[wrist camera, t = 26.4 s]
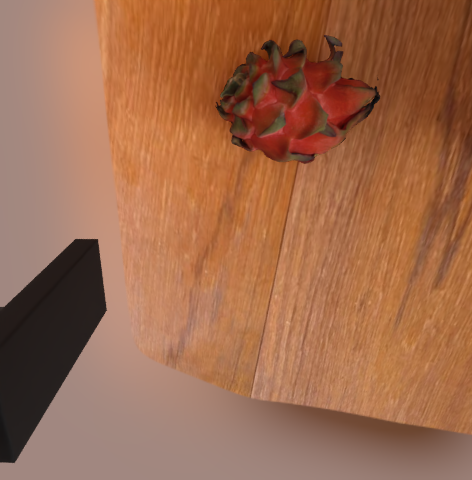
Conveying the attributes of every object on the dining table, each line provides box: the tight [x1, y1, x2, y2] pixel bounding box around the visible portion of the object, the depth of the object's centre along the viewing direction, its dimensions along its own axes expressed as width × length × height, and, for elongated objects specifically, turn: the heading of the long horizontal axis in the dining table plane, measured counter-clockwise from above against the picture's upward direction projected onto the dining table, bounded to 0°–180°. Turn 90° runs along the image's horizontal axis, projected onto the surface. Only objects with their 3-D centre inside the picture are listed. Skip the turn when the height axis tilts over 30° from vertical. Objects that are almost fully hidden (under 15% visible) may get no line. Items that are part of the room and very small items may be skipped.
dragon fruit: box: [215, 35, 380, 164], centre depth 32 cm, size 8×8×12 cm
